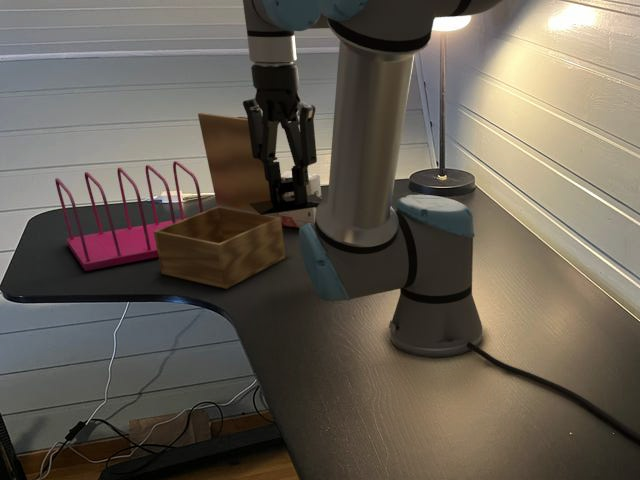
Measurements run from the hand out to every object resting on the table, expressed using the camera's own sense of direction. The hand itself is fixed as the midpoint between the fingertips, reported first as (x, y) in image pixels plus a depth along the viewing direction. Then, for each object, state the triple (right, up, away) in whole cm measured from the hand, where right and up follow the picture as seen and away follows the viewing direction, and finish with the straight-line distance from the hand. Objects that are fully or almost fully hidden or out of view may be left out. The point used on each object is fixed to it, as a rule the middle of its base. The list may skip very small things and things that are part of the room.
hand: (289, 200), depth 132 cm
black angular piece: (0, -1, 0) cm, 1 cm away
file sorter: (-37, -5, +23) cm, 44 cm away
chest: (-17, -10, +15) cm, 24 cm away
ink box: (-6, +2, +37) cm, 38 cm away
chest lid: (-13, +10, +12) cm, 20 cm away
